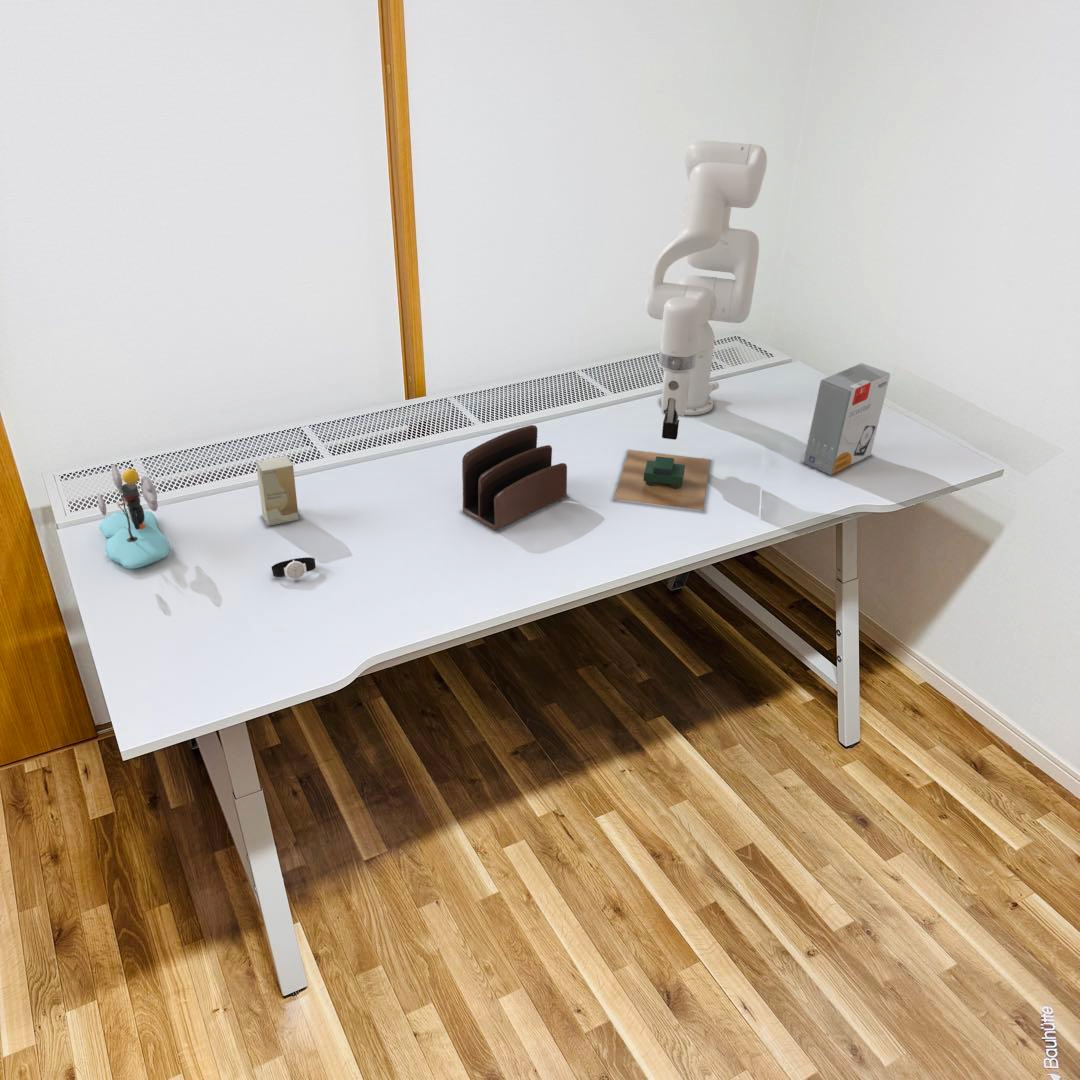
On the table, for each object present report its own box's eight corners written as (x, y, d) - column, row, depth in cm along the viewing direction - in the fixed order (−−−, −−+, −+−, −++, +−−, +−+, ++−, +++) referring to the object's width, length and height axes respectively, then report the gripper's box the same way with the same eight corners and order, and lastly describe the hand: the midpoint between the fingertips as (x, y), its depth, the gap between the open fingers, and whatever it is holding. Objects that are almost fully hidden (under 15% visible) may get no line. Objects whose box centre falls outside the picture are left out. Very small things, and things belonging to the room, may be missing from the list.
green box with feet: (646, 472, 210) (642, 485, 206) (647, 454, 208) (644, 466, 203) (683, 477, 209) (681, 490, 204) (685, 458, 207) (683, 471, 202)
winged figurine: (98, 524, 189) (80, 454, 181) (156, 511, 193) (141, 443, 185) (113, 579, 174) (94, 505, 166) (175, 564, 178) (160, 491, 170)
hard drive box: (831, 476, 212) (849, 391, 201) (802, 463, 216) (818, 379, 205) (872, 455, 220) (891, 372, 209) (843, 442, 225) (860, 361, 214)
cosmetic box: (268, 527, 190) (259, 471, 183) (262, 516, 193) (253, 461, 186) (300, 519, 192) (293, 464, 185) (294, 508, 195) (287, 454, 189)
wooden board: (628, 451, 219) (628, 449, 219) (710, 461, 216) (710, 459, 216) (614, 500, 201) (614, 498, 201) (702, 512, 198) (702, 510, 198)
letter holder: (461, 512, 196) (460, 449, 188) (533, 479, 208) (534, 418, 200) (495, 532, 190) (495, 468, 182) (567, 497, 202) (570, 435, 194)
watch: (275, 585, 174) (272, 568, 172) (270, 570, 177) (267, 554, 175) (318, 575, 176) (316, 559, 175) (313, 561, 180) (311, 545, 178)
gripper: (692, 375, 196) (683, 456, 206) (698, 345, 208) (690, 423, 218) (655, 371, 197) (648, 451, 207) (663, 342, 209) (656, 419, 219)
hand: (669, 437), depth 213 cm, fingers closed
